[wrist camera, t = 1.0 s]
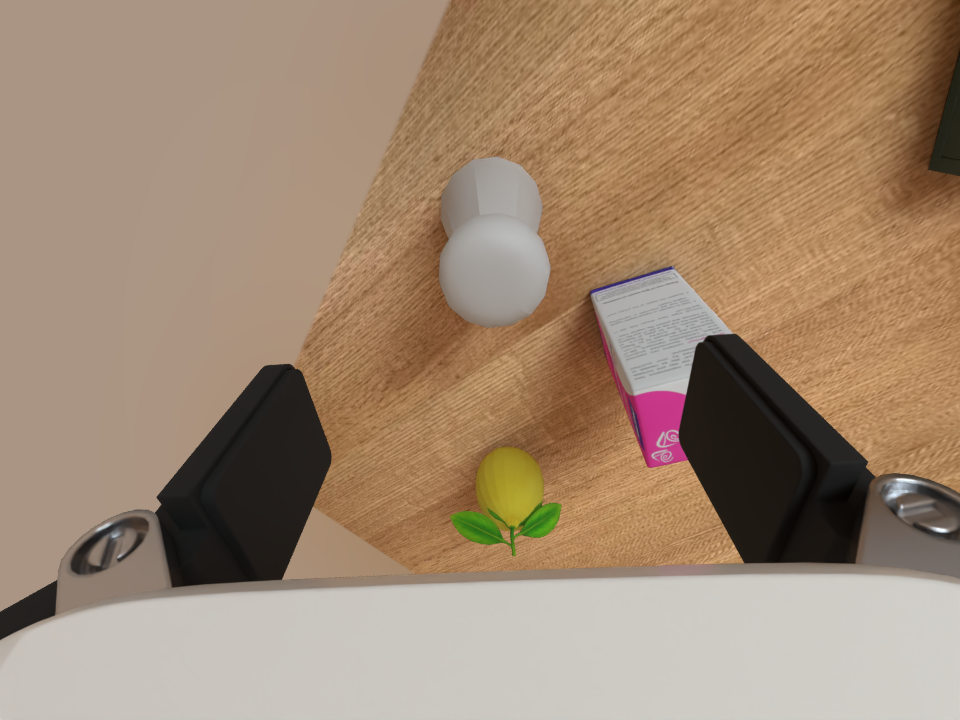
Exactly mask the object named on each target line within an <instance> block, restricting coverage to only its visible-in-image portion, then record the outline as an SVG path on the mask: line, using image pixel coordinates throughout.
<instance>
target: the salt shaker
mask: <svg viewBox="0 0 960 720" xmlns="http://www.w3.org/2000/svg"><path fill="white" fill-rule="evenodd" d="M542 208H543V205H542V202H541V198H540V194H539V191H538V187H537V184H536V182H535V181H534V180H533V179H532V178H531V177H530V175H529V174H528V173H527V172H526V171H525V170H524V169H523V168H522V166H521V165H519V164H516V163H513V162H511V161H508V160H505V159H502V158H500V157H491V158H483V159H474V160H472V161H471V162H469V163H468V164H466V165H465V166H464V167H462V168H461V169H460V170H458V171H457V172H456V173H454V174H453V176H452V177H451V179H450V181H449V183H448V185H447V186H446V188H445V190H444V192H443V193H442V195H441V221H442V224H443V226H444V229H445V231H446V234H447V237H448V239H449V240H448V242H447V244H446V245H445V247H444V249H443V250H442V252H441V254H440V265H439V282H440V286H441V289H442V291H443V293H444V296H445V298H446V300H447V303H448V305H449V307H450V308H451V309H453V310H454V311H455V312H456V313H457V314H459V315H460V316H461V317H462V318H463V319H464V320H466V321H468V322H471V323H474V324H477V325H480V326H483V327H486V328H493V327H502V326H511V325H513V324H515V323H517V322H518V321H520V320H522V319H524V318H526V317H528V316H530V315H531V314H532V313H533V312H534V310H535V309H536V308H537V306H538V305H539V304H540V302H541V301H542V299H543V298H544V297H545V294H546V289H547V284H548V279H549V275H550V268H551V266H550V263H549V260H548V256H547V253H546V250H545V246H544V243H543V241H542V239H541V238H540V237H539V236H538V235H537V233H538V230H539V225H540V219H541V214H542Z"/></svg>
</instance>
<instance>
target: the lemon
mask: <svg viewBox="0 0 960 720" xmlns="http://www.w3.org/2000/svg"><path fill="white" fill-rule="evenodd" d="M543 493H544V481H543V476H542V472H541V470H540V467H539V465H538V463H537V461H536V460H535V459H534V458H533V457H532V456H531V455H530V454H529V453H527V452H526V451H524V450H522V449H520V448H516V447H501V448H497V449H495V450H493V451H492V452H490V453H489V454H488V455H487V456H486V457H485V458H484V459H483V460H482V461H481V463H480V466H479V469H478V472H477V475H476V495H477V500H478V504H479V507H480V509H481V510H482V512H483V514H484V515H483V514H481V513H478V512H471V511H463V512H459V513H456V514H454V515H450V517H451V520H452V522H453V524H454V526H455V528H456V529H457V530H458V531H459V533H460V534H461V535H463V536H464V537H465V538H467V539H469V540H470V541H473V542H476V543H480V544H486V545H490V544H497V543H505V544H507V545H509V546H510V547H511V548H512V555H513V556H516V553H515V544H514V538H516V537H517V536H519V535H524V536H528V537H534V538H540V537H543V536H546V535H547V534H548V533H550V532H551V531H552V530H553V529H554V527H555V526H556V524H557V522H558V520H559V516H560V511H561V506H562V505H561V504H557V503H549V504H546V505H544V506H542V502H543ZM498 528H499V529H501V530H504V531H511V532H510V538H511V544H509V543H508V542H506V541H505V540H504V538H503V537H502V535H501V533H500V530H499V529H498ZM517 530H521V531H520V533H518V534H517V535H515V536H514V531H517Z"/></svg>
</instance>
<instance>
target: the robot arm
mask: <svg viewBox="0 0 960 720" xmlns="http://www.w3.org/2000/svg"><path fill="white" fill-rule="evenodd" d="M678 434H679V442H680V445H681V448H682V449H683V451H684V453H685V455H686V457H687V459H688V460H689V462H690V464H691V466H692V468H693V470H694V471H695V473H696V475H697V477H698V479H699V481H700V482H701V484H702V486H703V488H704V490H705V492H706V493H707V495H708V497H709V499H710V501H711V503H712V505H713V506H714V508H715V510H716V512H717V514H718V516H719V517H720V519H721V521H722V523H723V525H724V527H725V528H726V530H727V532H728V534H729V536H730V538H731V539H732V541H733V543H734V545H735V547H736V549H737V550H738V552H739V554H740V556H741V558H742V560H743V561H744V563H745V564H698V565H666V566H634V567H602V568H571V569H543V570H515V571H488V572H461V573H435V574H409V575H385V576H363V577H362V576H361V577H339V578H315V579H291V580H282V578H283V576H284V573H285V571H286V569H287V566H288V564H289V562H290V559H291V557H292V555H293V552H294V550H295V547H296V545H297V543H298V540H299V538H300V535H301V533H302V531H303V529H304V526H305V524H306V521H307V519H308V517H309V514H310V512H311V510H312V507H313V505H314V503H315V500H316V498H317V495H318V493H319V491H320V488H321V486H322V484H323V481H324V479H325V477H326V474H327V472H328V469H329V467H330V464H331V450H330V447H329V444H328V442H327V439H326V436H325V434H324V431H323V428H322V425H321V423H320V420H319V417H318V415H317V412H316V409H315V406H314V404H313V401H312V398H311V395H310V393H309V390H308V387H307V385H306V382H305V379H304V376H303V374H302V372H301V371H300V370H298V369H295V368H294V367H293V366H292V365H290V364H282V365H281V364H280V365H267V366H264V367H263V368H262V369H261V370H260V371H259V373H258V374H257V375H256V376H255V378H254V379H253V380H252V381H251V382H250V384H249V385H248V386H247V387H246V388H245V390H244V391H243V392H242V394H241V395H240V396H239V397H238V398H237V400H236V401H235V402H234V403H233V405H232V406H231V407H230V408H229V409H228V410H227V412H226V413H225V414H224V415H223V417H222V418H221V419H220V420H219V421H218V423H217V424H216V425H215V426H214V428H213V429H212V430H211V431H210V432H209V434H208V435H207V436H206V437H205V439H204V440H203V441H202V442H201V443H200V445H199V446H198V447H197V448H196V450H195V451H194V452H193V453H192V454H191V456H190V457H189V458H188V459H187V461H186V462H185V463H184V464H183V466H182V467H181V468H180V469H179V470H178V472H177V473H176V474H175V475H174V477H173V478H172V479H171V480H170V481H169V483H168V484H167V485H166V486H165V487H164V489H163V490H162V491H161V492H160V494H159V495H158V496H157V499H158V500H159V501H160V503H161V504H162V505H161V506H160V507H159V509H158V510H157V511H156V512H155V513H154V512H151V511H149V510H133V511H128V512H124V513H121V514H119V515H116V516H114V517H111V518H109V519H107V520H105V521H103V522H102V523H100V524H98V525H97V526H95V527H93V528H92V529H90V530H89V531H88V532H86V533H85V534H84V535H83V536H81V537H80V538H79V539H78V540H77V541H76V542H75V543H74V544H73V545H72V546H71V547H70V548H69V549H68V551H67V552H66V554H65V555H64V557H63V558H62V560H61V563H60V566H59V570H58V580H56V581H55V582H53V583H51V584H49V585H47V586H46V587H44V588H42V589H40V590H38V591H37V592H35V593H33V594H31V595H29V596H28V597H26V598H24V599H22V600H20V601H19V602H17V603H15V604H13V605H12V606H10V607H8V608H6V609H4V610H3V611H1V612H0V720H960V493H958V492H956V491H954V490H952V489H951V488H949V487H947V486H944V485H942V484H939V483H937V482H934V481H932V480H929V479H925V478H921V477H917V476H914V475H908V474H898V473H892V474H884V475H880V476H878V477H875V476H874V475H873V474H872V473H871V472H870V471H869V470H868V469H867V468H866V465H867V463H868V461H867V460H866V459H865V458H864V457H863V456H862V455H861V454H860V453H859V452H858V451H857V450H856V449H855V448H854V447H853V446H851V445H850V444H849V443H848V442H847V441H846V440H845V439H844V438H843V437H842V436H841V435H840V434H839V433H838V432H837V431H836V430H835V429H834V428H833V427H832V426H831V425H830V424H829V423H828V422H827V421H826V420H825V419H824V418H823V417H822V416H821V415H820V414H819V413H818V412H817V411H815V410H814V409H813V408H812V407H811V406H810V405H809V404H808V403H807V402H806V401H805V400H804V399H803V398H802V397H801V396H800V395H799V394H798V393H797V392H796V391H795V390H794V389H793V388H792V387H791V386H790V385H789V384H788V383H787V382H786V381H785V380H784V379H783V378H782V377H781V376H779V375H778V374H777V373H776V372H775V371H774V370H773V369H772V368H771V367H770V366H769V365H768V364H767V363H766V362H765V361H764V360H763V359H762V358H761V357H760V356H759V355H758V354H757V353H756V352H755V351H754V350H753V349H752V348H751V347H750V346H749V345H748V344H747V343H746V342H745V341H743V340H742V339H741V338H740V337H739V336H738V335H737V334H722V335H708V336H707V337H706V338H705V339H704V341H703V342H699V343H698V344H697V346H696V349H695V353H694V358H693V363H692V368H691V373H690V378H689V383H688V388H687V393H686V398H685V402H684V407H683V412H682V417H681V422H680V427H679V433H678Z"/></svg>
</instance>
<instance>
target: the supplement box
mask: <svg viewBox="0 0 960 720" xmlns="http://www.w3.org/2000/svg"><path fill="white" fill-rule="evenodd" d="M590 296H591V300H592V303H593V306H594V310H595V314H596V318H597V322H598V326H599V330H600V334H601V339H602V343H603V349H604V354H605V357H606V360H607V362H608V365H609V368H610V370H611V373H612V376H613V378H614V381H615V383H616V386H617V389H618V391H619V394H620V396H621V399H622V402H623V404H624V407H625V409H626V412H627V415H628V417H629V420H630V422H631V425H632V427H633V430H634V433H635V435H636V438H637V441H638V443H639V446H640V448H641V451H642V454H643V456H644V459H645V462H646V464H647V466H648V467H649V468H652V467H658V466H663V465H668V464H672V463H677V462H681V461H685V460H688V459H687V457H686V455H685V453H684V451H683V449H682V448H681V445H680V442H679V434H678V433H679V427H680V422H681V417H682V412H683V407H684V402H685V398H686V393H687V388H688V383H689V378H690V373H691V368H692V363H693V358H694V353H695V349H696V346H697V344H698V343H699V342H703V341H704V339H705V338H706V337H707V336H708V335H722V334H733V333H732V332H731V331H730V330H729V329H728V327H727V326H726V325H725V324H724V323H723V322H722V321H721V320H720V319H719V317H718V316H717V315H716V314H715V313H714V312H713V311H712V310H711V309H710V308H709V306H708V305H707V304H706V303H705V302H704V301H703V300H702V299H701V298H700V297H699V295H698V294H697V293H696V292H695V291H694V290H693V289H692V288H691V287H690V286H689V285H688V283H687V282H686V281H685V280H684V279H683V278H682V277H681V276H680V274H679V273H678V272H677V271H676V270H675V269H674V267H673V266H670V267H666V268H663V269H659V270H656V271H653V272H650V273H647V274H643V275H640V276H637V277H634V278H631V279H627V280H624V281H620V282H617V283H613V284H610V285H607V286H603V287H600V288H597V289H594V290H592V291H590Z"/></svg>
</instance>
